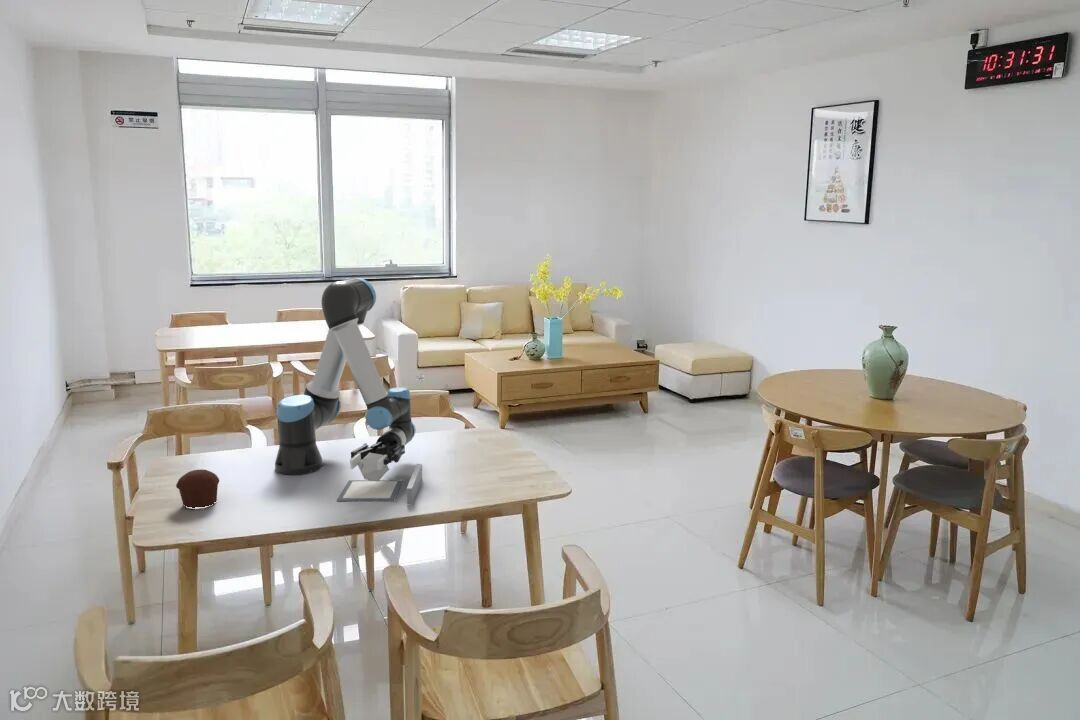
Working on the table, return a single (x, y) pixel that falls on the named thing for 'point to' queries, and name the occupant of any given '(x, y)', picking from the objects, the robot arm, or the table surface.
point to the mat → (370, 491)
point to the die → (372, 467)
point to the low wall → (414, 484)
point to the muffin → (198, 488)
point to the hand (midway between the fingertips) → (365, 465)
